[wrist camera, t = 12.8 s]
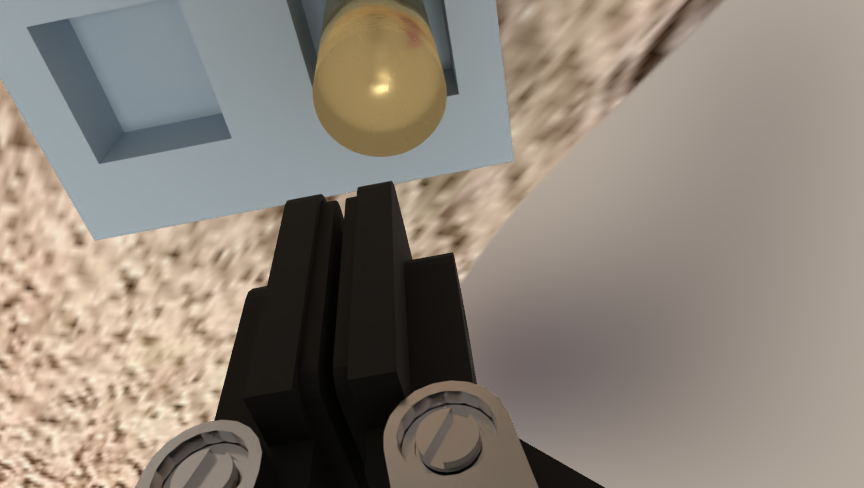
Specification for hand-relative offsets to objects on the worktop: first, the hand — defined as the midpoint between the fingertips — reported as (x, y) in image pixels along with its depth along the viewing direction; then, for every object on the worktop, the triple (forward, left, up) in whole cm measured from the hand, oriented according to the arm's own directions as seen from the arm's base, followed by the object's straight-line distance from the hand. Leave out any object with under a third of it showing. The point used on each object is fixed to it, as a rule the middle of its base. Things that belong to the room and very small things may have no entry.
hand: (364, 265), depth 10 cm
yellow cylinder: (+1, 0, -18) cm, 18 cm away
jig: (+1, -5, -19) cm, 20 cm away
